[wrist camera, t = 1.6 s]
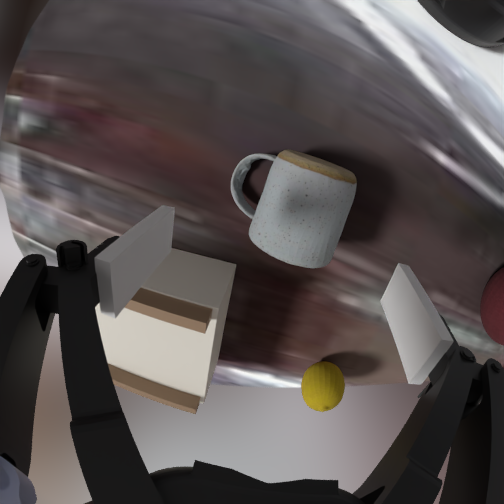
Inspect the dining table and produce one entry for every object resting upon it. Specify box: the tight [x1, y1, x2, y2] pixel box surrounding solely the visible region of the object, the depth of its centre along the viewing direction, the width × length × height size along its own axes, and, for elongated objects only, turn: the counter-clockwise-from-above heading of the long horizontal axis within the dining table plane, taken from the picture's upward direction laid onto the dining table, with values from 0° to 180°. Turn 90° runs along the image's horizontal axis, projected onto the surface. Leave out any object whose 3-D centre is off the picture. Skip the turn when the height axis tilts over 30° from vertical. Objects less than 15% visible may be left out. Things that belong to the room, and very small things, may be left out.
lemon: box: [301, 361, 345, 412], centre depth 33 cm, size 6×6×8 cm
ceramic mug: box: [231, 150, 357, 268], centre depth 24 cm, size 11×8×8 cm
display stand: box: [95, 248, 237, 414], centre depth 31 cm, size 14×16×10 cm
